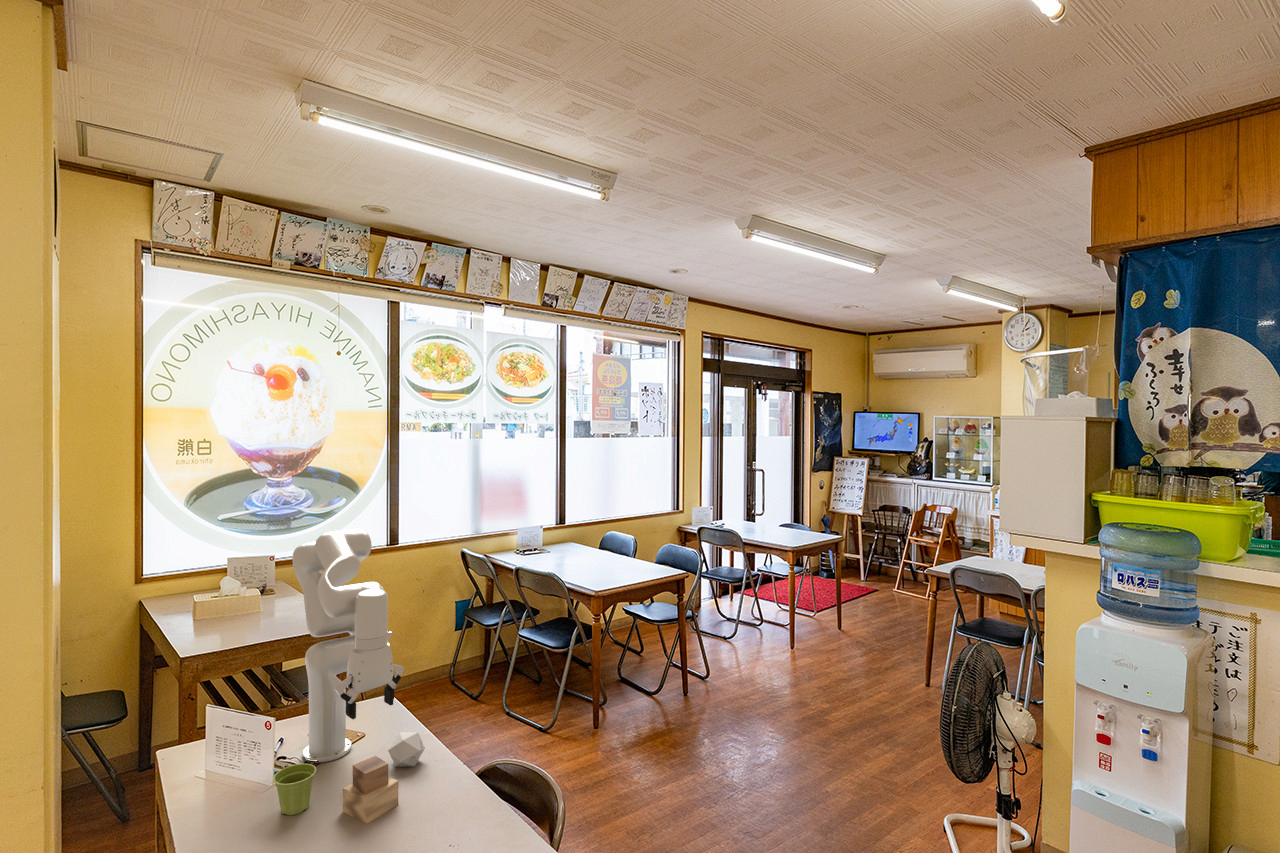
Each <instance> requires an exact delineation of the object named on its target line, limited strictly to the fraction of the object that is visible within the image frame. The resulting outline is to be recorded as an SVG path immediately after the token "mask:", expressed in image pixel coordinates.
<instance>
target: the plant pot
mask: <svg viewBox="0 0 1280 853" xmlns="http://www.w3.org/2000/svg"><path fill="white" fill-rule="evenodd" d="M316 773H317V767H316V766H315V765H313V764H312V763H311V764H310V763H297V764H293V765H288V766H286V767H284V768H282V769H280V770H279V771H277V772H276V773H275V774H274V775H273V777H272V780H273V783H274V784H275V787H276V790H277V796H278V800H279V806H280V812H281V813H282V815H283V814H284V815H287V816H293V815H294V816H295V815H298V814H301V813H302V812H304V810H307V809H308V808H309V806H310V802H311V794H312V787H313V786H312V785H313V780H314V778H315V774H316Z"/></svg>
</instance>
